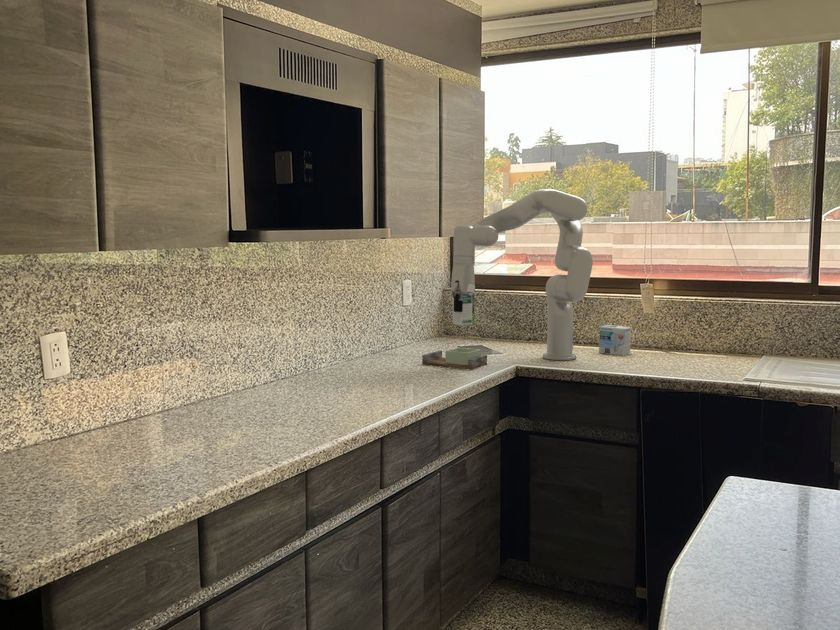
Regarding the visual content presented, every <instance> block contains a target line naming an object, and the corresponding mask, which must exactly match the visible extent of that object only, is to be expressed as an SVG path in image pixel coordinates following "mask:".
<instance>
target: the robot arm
mask: <svg viewBox="0 0 840 630" xmlns="http://www.w3.org/2000/svg"><path fill="white" fill-rule="evenodd" d="M545 213H546V214H547V213H548V214H549V213H550V214H551V217H552V218H553V219H554V220H555V222H556V223H557V225H558V229H559V234H558V235H559V237H558V242H557V246H556V252H555V258H554V264H555V267H556V269H558V270H560V271H562V272H567V274H562V273H561V274H554V275H552V276H550V277H549V279H548V280H547V281H546V284H545V294H546V300H547V301H546V302H547V323H546V324H547V328H546V329H547V331H546V332H547V333H546V336H547V337H546V338H547V339H546V340H547V341H546V352H544V353H543V354H542V359H543V358H544V360H545V359H546V360H551V361H573V360H576V359H577V354H575V353H573V349H574V346H573V343H574V342H573V339H574V338H573V336H574V333H573V332H574V331H573V330H574V307H573V303H577V302H580V301H583V299H584V298H585V296H586V294H587V292H588V288H589V285H590V280H591V274H592V271H593V264H594V263H593V262H594V261H593V256H592V253H591V251H590V250H589V249H588V248H586V247H583V246H582V243H583V236H584V235H583V234H584V232H583V226H582V223H581V220H583V219H584V218H585V217H586V216H587V214H588V205H587V202H586V201H585V199H583V198H581V197H580V196H576V195H573V194H570V193H566V192H564V191H560V190H557V189H553V188H545V189H536V190H533V191H532V192H530V193H529V194H526V195H525V196H523V197H522V198H520V199H519V200H517V201H515V202H514V203H511V204H510V205H509V206H507V207H504V208H502V209H500V210H498V211H496V212H494V213H492V214H490V215H487V216H486V217H483V218H481V220H479V221H477V222H476V223H473V224H471V225H456V226H455V227H454V229H453V258H452V259H453V261H452V262H453V263H452V264H453V266H452V271H451V282H450V291H451V294H452V301H453V300H454V312H462V311H463V301H461V300H462V296H463V293H466V291H467V288H468V285H469V284H474V292H475V291H476V285H475V284H476V283H475V282H476V280H475V278H476V277H475V274H476V273H475V264H476V263H475V262H476V261H475V260H476V259H475V255H476V247H485V248H486V247H492V246H493V245H495V244H497V242H498V240H499V233H503V232H506V231H512V230H515V229H518V228H521V227H522V226H524V225H526V224H527V223H529V222H530V221H532V220H534V219H535V218H537V217H538V216H540V215H541V214H545ZM460 289H461V292H458V291H459V290H460ZM458 294H460V296H459V295H458Z"/></svg>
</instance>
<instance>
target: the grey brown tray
mask: <svg viewBox="0 0 840 630" xmlns="http://www.w3.org/2000/svg"><path fill="white" fill-rule="evenodd" d="M421 356H422V357H421V358H422V359H421V361H422V362H421V364H423V365H422V366H430V365H432V366H431V367H439V366H441V367H442V368H448V367H451V369H457V368H459V370H460V369H461V370H466V369H469V371H474V370H475V369H479V368H481V366H482V367H484V365H485V366H487V365H488V355H487V354H481V356H478V357H475V358H472V359H469V360H468V365H458V364H449V363H445V359H446V357H443V351H442V350H436V351H435V350H434V351H431V352H429V353H426V354H422V355H421ZM441 367H440V368H441ZM478 367H479V368H478ZM473 369H474V370H473Z"/></svg>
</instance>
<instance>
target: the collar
mask: <svg viewBox="0 0 840 630" xmlns="http://www.w3.org/2000/svg"><path fill="white" fill-rule="evenodd" d="M481 355H482V349H480V348H470V347H469V348H468V347H467V348H466V347H453V348H451V349H448V350H445V358H446V359H445V363H449V364H458V365H468V360H469V359H472V358H475V357H478V356H481Z"/></svg>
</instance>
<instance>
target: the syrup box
mask: <svg viewBox="0 0 840 630" xmlns="http://www.w3.org/2000/svg"><path fill="white" fill-rule="evenodd" d="M458 292H461V289H460V290H459V291H458ZM458 295H459V296H460V294H458ZM461 301H463V311H462V312H454V300H453V299H452V324H454V325H457V326H467V325H475V291H474V284H469V285H468V288H467V291H466V293H463V296H462V300H461Z"/></svg>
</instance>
